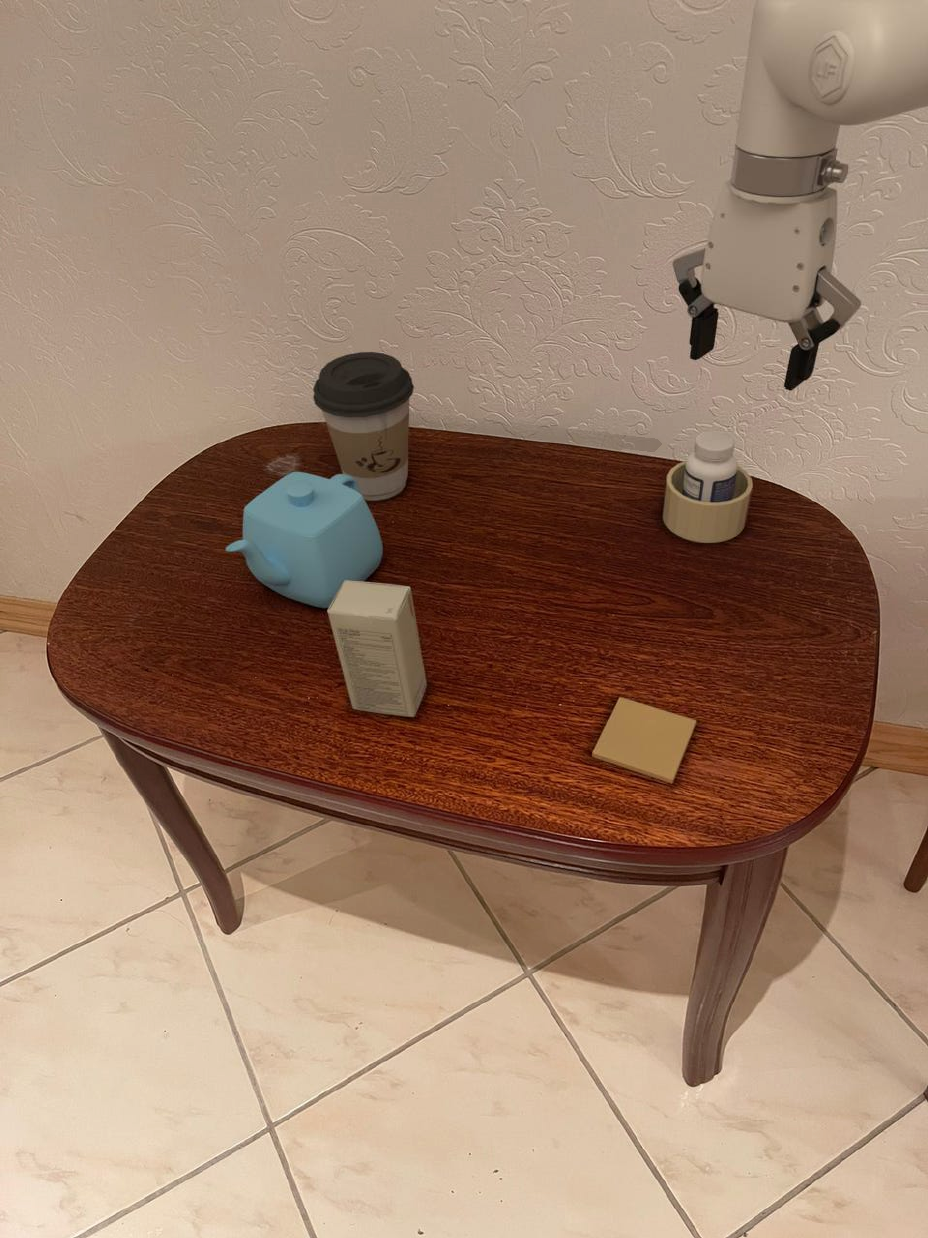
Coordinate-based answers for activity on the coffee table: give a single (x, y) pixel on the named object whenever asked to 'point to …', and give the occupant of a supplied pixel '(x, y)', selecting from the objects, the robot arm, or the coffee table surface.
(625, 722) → the mat
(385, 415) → the coffee cup
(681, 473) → the bucket
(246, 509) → the teapot
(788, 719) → the coffee table surface
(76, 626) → the coffee table surface
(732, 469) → the pill bottle
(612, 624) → the coffee table surface
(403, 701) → the cosmetic box
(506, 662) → the coffee table surface
